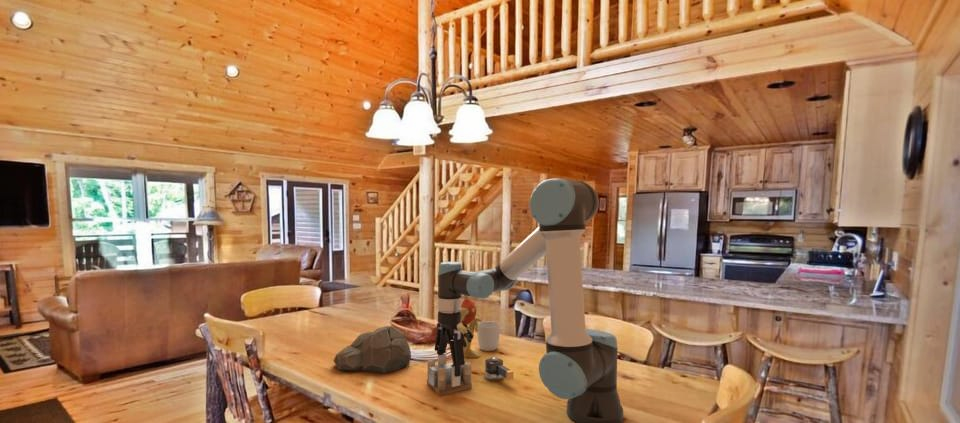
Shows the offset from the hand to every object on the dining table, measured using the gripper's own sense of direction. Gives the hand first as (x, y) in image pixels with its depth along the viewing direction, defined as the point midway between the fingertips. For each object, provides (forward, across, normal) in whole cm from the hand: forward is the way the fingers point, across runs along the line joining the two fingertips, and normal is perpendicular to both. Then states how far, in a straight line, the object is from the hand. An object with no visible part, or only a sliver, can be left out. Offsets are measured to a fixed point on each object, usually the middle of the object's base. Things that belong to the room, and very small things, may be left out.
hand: (448, 379), depth 134 cm
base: (+2, -1, -16) cm, 17 cm away
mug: (+2, +26, -32) cm, 41 cm away
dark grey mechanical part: (-1, -5, -16) cm, 17 cm away
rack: (+2, 0, 0) cm, 2 cm away
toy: (+2, +15, -14) cm, 21 cm away
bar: (0, 0, 0) cm, 0 cm away
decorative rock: (+3, +31, +15) cm, 34 cm away
